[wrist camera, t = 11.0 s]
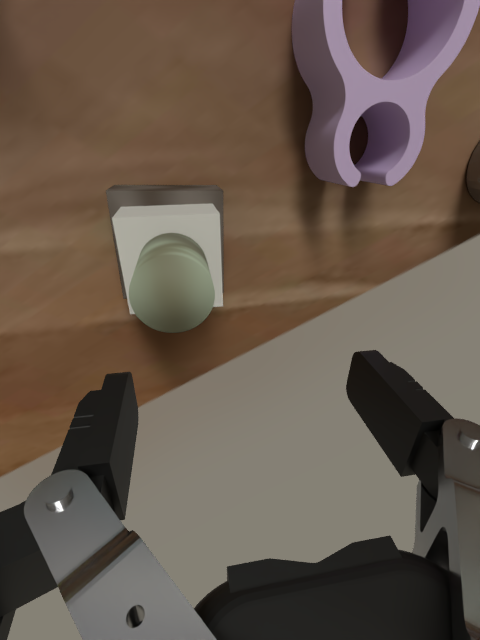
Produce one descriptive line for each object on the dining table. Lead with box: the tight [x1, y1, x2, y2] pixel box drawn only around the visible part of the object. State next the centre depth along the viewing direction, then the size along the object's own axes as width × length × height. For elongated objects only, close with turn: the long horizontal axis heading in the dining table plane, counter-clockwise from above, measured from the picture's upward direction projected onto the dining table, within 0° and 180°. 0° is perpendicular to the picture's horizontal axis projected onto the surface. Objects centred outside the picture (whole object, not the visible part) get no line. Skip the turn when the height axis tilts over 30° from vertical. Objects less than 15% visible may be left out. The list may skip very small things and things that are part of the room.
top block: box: [112, 203, 223, 314], centre depth 28 cm, size 8×8×5 cm
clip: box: [292, 0, 480, 187], centre depth 27 cm, size 20×12×7 cm, turn 1°
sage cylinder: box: [129, 233, 215, 333], centre depth 24 cm, size 6×6×6 cm
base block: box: [106, 185, 223, 299], centre depth 33 cm, size 10×10×5 cm
